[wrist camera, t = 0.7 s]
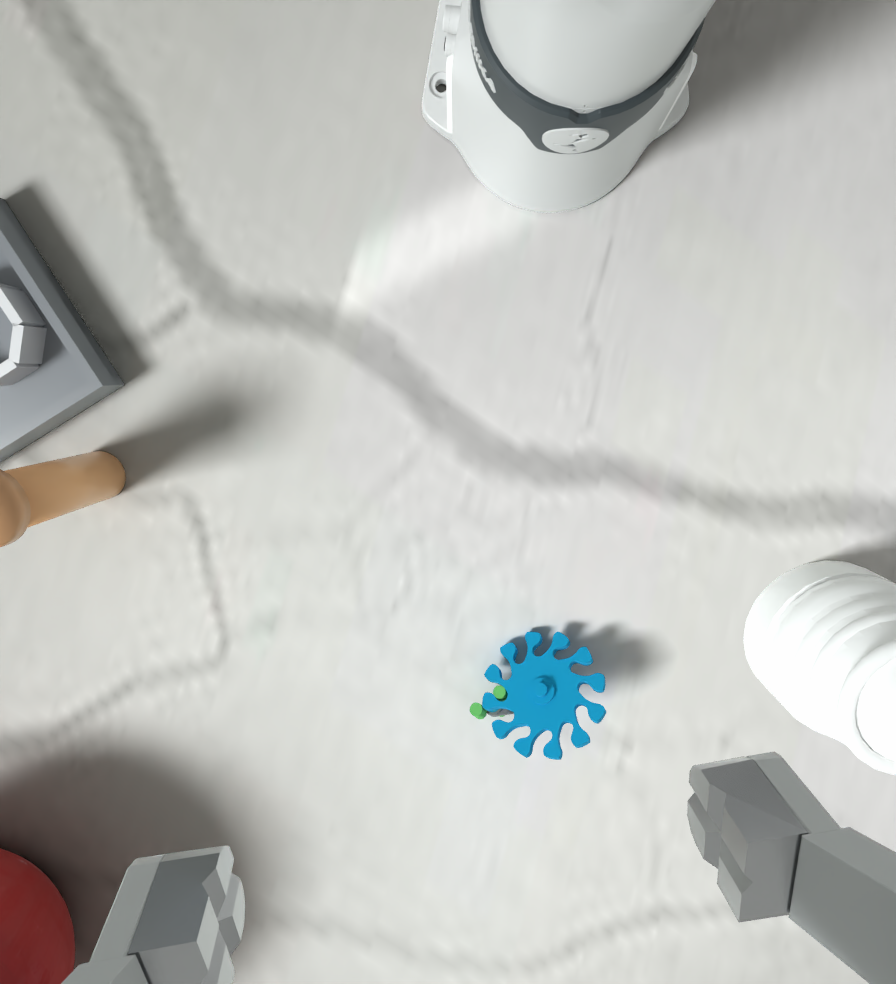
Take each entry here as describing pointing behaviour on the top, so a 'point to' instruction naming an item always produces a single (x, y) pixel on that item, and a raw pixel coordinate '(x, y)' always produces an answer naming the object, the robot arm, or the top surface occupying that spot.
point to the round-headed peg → (55, 490)
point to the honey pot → (831, 654)
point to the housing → (41, 346)
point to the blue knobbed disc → (541, 695)
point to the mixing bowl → (32, 925)
